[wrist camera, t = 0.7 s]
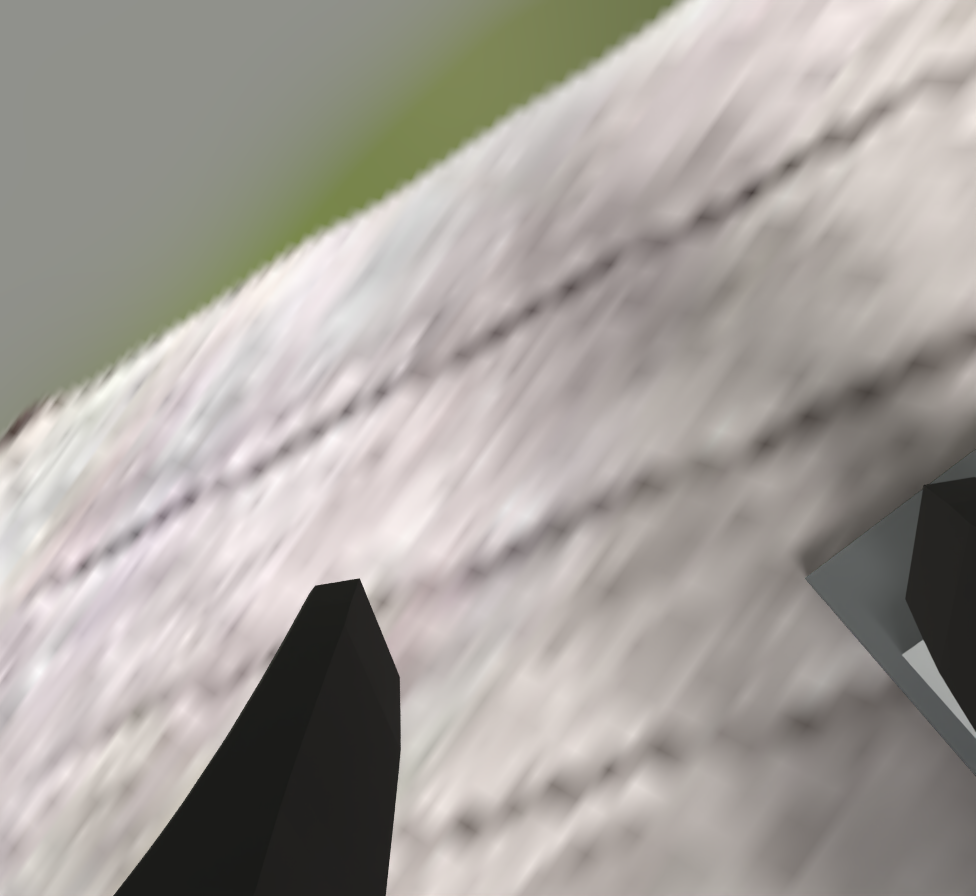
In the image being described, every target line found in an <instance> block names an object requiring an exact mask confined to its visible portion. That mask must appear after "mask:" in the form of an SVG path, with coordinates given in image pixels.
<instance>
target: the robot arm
mask: <svg viewBox="0 0 976 896" xmlns="http://www.w3.org/2000/svg"><path fill="white" fill-rule="evenodd" d="M905 600H906V602H907V604H908V606H909V609H910V611H911V613H912V616H913V618H914V620H915V622H916V625H917V627H918V629H919V631H920V634H921V636H922V638H923V640H924V642H925V644H926V646H927V649H928V651H929V653H930V655H931V657H932V659H933V661H934V663H935V665H936V667H937V669H938V671H939V673H940V675H941V677H942V678H943V680H944V682H945V683H946V685H947V687H948V688H949V690H950V691H951V693H952V695H953V696H954V698H955V700H956V701H957V703H958V704H959V706H960V708H961V709H962V711H963V712H964V714H965V716H966V717H967V719H968V721H969V722H970V724H971V725H972V727H973V729H974V730H975V732H976V477H970V478H964V479H958V480H952V481H946V482H940V483H934V484H928V485H924V486H923V492H922V498H921V504H920V510H919V517H918V523H917V529H916V535H915V541H914V547H913V554H912V560H911V566H910V572H909V578H908V584H907V591H906V597H905ZM400 751H401V726H400V676H399V674H398V672H397V669H396V667H395V664H394V662H393V659H392V657H391V654H390V652H389V649H388V647H387V644H386V642H385V640H384V637H383V635H382V632H381V630H380V627H379V625H378V622H377V620H376V617H375V615H374V613H373V610H372V608H371V605H370V603H369V600H368V598H367V595H366V593H365V590H364V588H363V585H362V583H361V581H360V578H359V579H353V580H347V581H341V582H335V583H329V584H323V585H317V586H315V587H314V588H313V589H312V591H311V592H310V594H309V595H308V597H307V599H306V601H305V602H304V604H303V606H302V608H301V610H300V611H299V613H298V615H297V617H296V619H295V620H294V622H293V624H292V626H291V628H290V630H289V631H288V633H287V635H286V637H285V639H284V640H283V642H282V644H281V646H280V647H279V649H278V651H277V653H276V654H275V656H274V658H273V660H272V661H271V663H270V665H269V667H268V668H267V670H266V672H265V674H264V675H263V677H262V679H261V681H260V682H259V684H258V686H257V687H256V689H255V691H254V692H253V694H252V696H251V697H250V699H249V701H248V702H247V704H246V705H245V707H244V709H243V710H242V712H241V714H240V715H239V717H238V719H237V720H236V722H235V724H234V725H233V727H232V729H231V730H230V732H229V733H228V735H227V737H226V738H225V740H224V741H223V743H222V745H221V746H220V748H219V749H218V751H217V752H216V754H215V755H214V757H213V758H212V760H211V761H210V763H209V764H208V766H207V767H206V769H205V770H204V772H203V773H202V775H201V776H200V778H199V779H198V781H197V782H196V784H195V785H194V787H193V788H192V790H191V791H190V793H189V794H188V796H187V797H186V799H185V800H184V802H183V803H182V805H181V806H180V807H179V809H178V810H177V812H176V813H175V814H174V816H173V817H172V819H171V820H170V821H169V823H168V824H167V826H166V827H165V828H164V830H163V831H162V833H161V834H160V835H159V837H158V838H157V839H156V841H155V842H154V843H153V845H152V846H151V848H150V849H149V850H148V852H147V853H146V854H145V855H144V857H143V858H142V859H141V861H140V862H139V863H138V865H137V866H136V867H135V868H134V870H133V871H132V872H131V874H130V875H129V876H128V878H127V879H126V880H125V881H124V883H123V884H122V885H121V887H120V888H119V889H118V890H117V892H116V893H115V894H114V895H113V896H386V887H387V878H388V869H389V859H390V850H391V840H392V831H393V822H394V812H395V802H396V793H397V783H398V773H399V762H400Z"/></svg>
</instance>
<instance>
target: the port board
mask: <svg viewBox="0 0 976 896" xmlns="http://www.w3.org/2000/svg"><path fill="white" fill-rule="evenodd" d="M970 477H976V449H975V450H974V451H972V452H971V453H970V454H968V455H967V456H966V457H964V458H963V459H962V460H960V461H959V462H958V463H957V464H955V465H954V466H953V467H951V468H950V469H949V470H947V471H946V472H945V473H943V474H942V475H941V476H939V477H938V478H937V479H935V480H934V481H933V482H931V483H930V484H934V483H940V482H946V481H952V480H958V479H964V478H970ZM922 492H923V489H922V490H921V491H919V492H918V493H917V494H916V495H914V496H913V497H912V498H910V499H909V500H908V501H906V502H905V503H904V504H902V505H901V506H900V507H898V508H897V509H896V510H894V511H893V512H892V513H890V514H889V515H888V516H886V517H885V518H884V519H882V520H881V521H880V522H878V523H877V524H876V525H874V526H873V527H872V528H871V529H869V530H868V531H867V532H865V533H864V534H863V535H861V536H860V537H859V538H857V539H856V540H855V541H853V542H852V543H851V544H849V545H848V546H847V547H845V548H844V549H843V550H841V551H840V552H839V553H837V554H836V555H835V556H833V557H832V558H831V559H829V560H828V561H827V562H826V563H824V564H823V565H822V566H820V567H819V568H818V569H816V570H815V571H814V572H812V573H811V574H810V575H808V576H807V577H806V578H805V579H806V580H807V581H808V583H809V584H810V585H811V586H812V587H813V588H814V590H815V591H816V592H817V593H818V594H819V595H820V597H821V598H822V599H823V600H824V601H825V602H826V603H827V605H828V606H829V607H830V608H831V609H832V610H833V612H834V613H835V614H836V615H837V616H838V617H839V618H840V620H841V621H842V622H843V623H844V624H845V625H846V627H847V628H848V629H849V630H850V631H851V632H852V634H853V635H854V636H855V637H856V638H857V639H858V640H859V642H860V643H861V644H862V645H863V646H864V647H865V649H866V650H867V651H868V652H869V653H870V654H871V656H872V657H873V658H874V659H875V660H876V661H877V662H878V664H879V665H880V666H881V667H882V668H883V669H884V671H885V672H886V673H887V674H888V675H889V676H890V678H891V679H892V680H893V681H894V682H895V683H896V684H897V686H898V687H899V688H900V689H901V690H902V691H903V693H904V694H905V695H906V696H907V697H908V698H909V700H910V701H911V702H912V703H913V704H914V705H915V706H916V708H917V709H918V710H919V711H920V712H921V713H922V715H923V716H924V717H925V718H926V719H927V720H928V722H929V723H930V724H931V725H932V726H933V727H934V728H935V730H936V731H937V732H938V733H939V734H940V735H941V737H942V738H943V739H944V740H945V741H946V742H947V744H948V745H949V746H950V747H951V748H952V749H953V750H954V752H955V753H956V754H957V755H958V756H959V757H960V759H961V760H962V761H963V762H964V763H965V764H966V766H967V767H968V768H969V769H970V770H971V771H972V772H973V774H974V775H975V776H976V732H975V730H974V729H973V727H972V725H971V724H970V722H969V721H968V719H967V717H966V716H965V714H964V712H963V711H962V709H961V708H960V706H959V704H958V703H957V701H956V700H955V698H954V696H953V695H952V693H951V691H950V690H949V688H948V687H947V685H946V683H945V682H944V680H943V678H942V677H941V675H940V673H939V671H938V669H937V667H936V665H935V663H934V661H933V659H932V657H931V655H930V653H929V651H928V649H927V646H926V644H925V642H924V640H923V638H922V636H921V634H920V631H919V629H918V627H917V625H916V622H915V620H914V618H913V616H912V613H911V611H910V609H909V606H908V604H907V602H906V600H905V597H906V591H907V584H908V578H909V572H910V566H911V560H912V554H913V547H914V541H915V535H916V529H917V523H918V517H919V510H920V504H921V498H922Z"/></svg>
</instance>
